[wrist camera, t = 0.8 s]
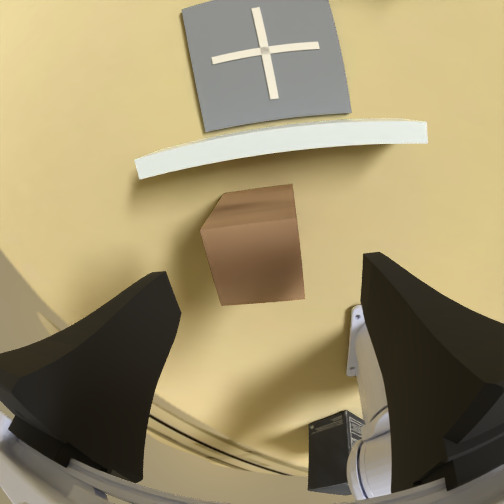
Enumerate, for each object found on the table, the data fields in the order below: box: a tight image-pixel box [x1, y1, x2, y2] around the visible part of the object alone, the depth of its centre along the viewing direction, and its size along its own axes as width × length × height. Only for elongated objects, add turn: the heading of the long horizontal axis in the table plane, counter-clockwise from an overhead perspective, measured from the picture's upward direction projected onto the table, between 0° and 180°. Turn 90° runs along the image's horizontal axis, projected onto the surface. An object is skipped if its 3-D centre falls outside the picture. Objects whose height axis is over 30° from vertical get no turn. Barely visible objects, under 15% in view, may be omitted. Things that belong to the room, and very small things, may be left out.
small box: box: [308, 410, 365, 495], centre depth 28 cm, size 11×6×10 cm, turn 44°
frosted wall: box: [134, 118, 428, 179], centre depth 14 cm, size 1×16×4 cm, turn 100°
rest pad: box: [182, 0, 352, 132], centre depth 13 cm, size 9×9×1 cm
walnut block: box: [200, 184, 305, 306], centre depth 16 cm, size 4×4×6 cm
